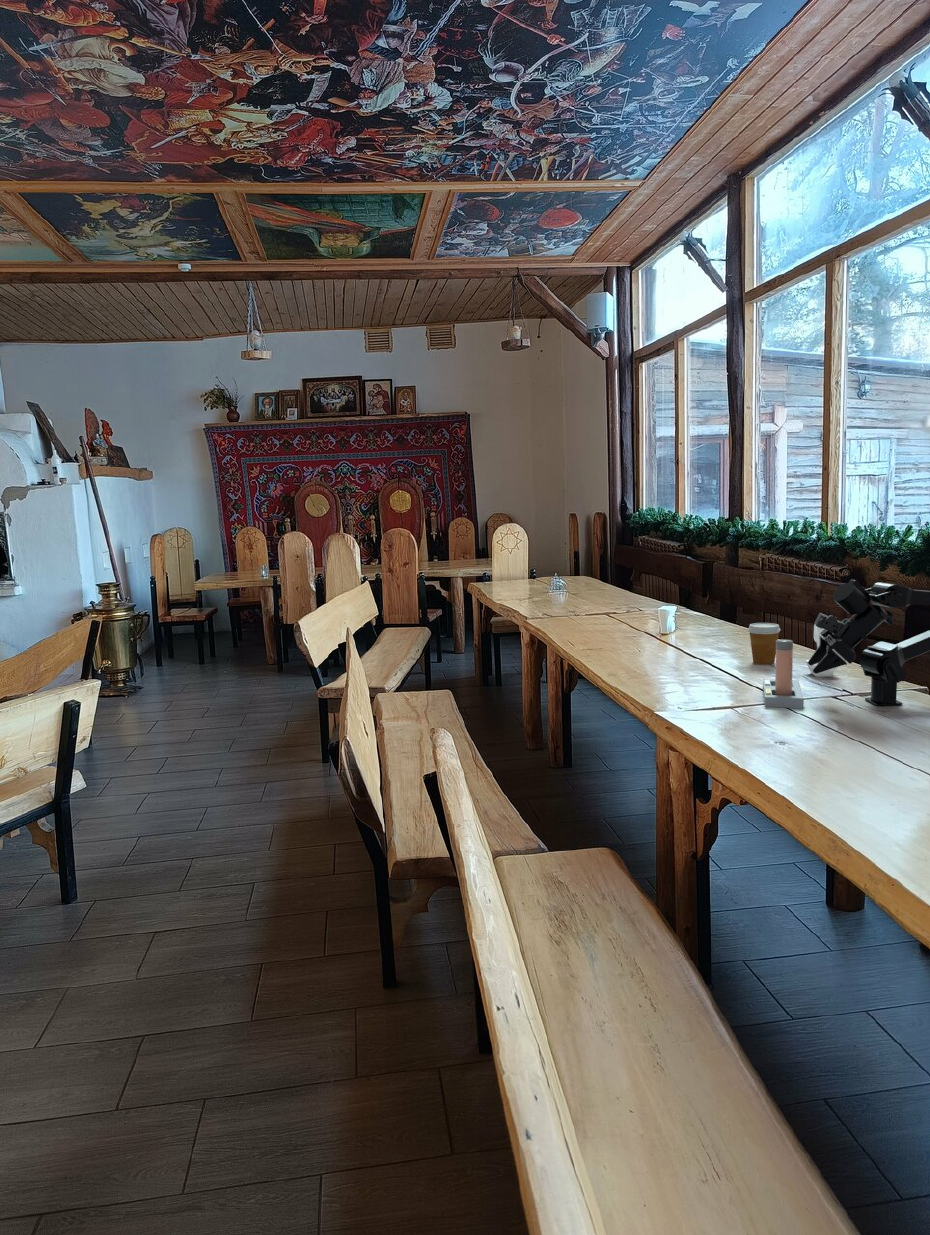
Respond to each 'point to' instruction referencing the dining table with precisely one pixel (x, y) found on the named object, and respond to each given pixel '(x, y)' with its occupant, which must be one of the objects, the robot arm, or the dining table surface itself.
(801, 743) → the dining table surface
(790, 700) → the socket plate
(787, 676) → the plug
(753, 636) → the disposable coffee cup
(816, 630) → the figurine
